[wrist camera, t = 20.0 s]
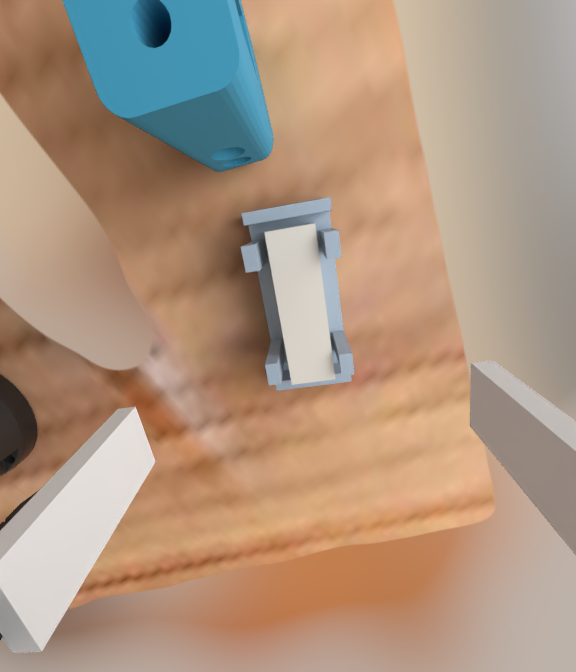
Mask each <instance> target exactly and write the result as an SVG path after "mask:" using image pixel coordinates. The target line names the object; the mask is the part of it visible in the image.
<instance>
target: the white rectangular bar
mask: <svg viewBox="0 0 576 672" xmlns="http://www.w3.org/2000/svg"><path fill="white" fill-rule="evenodd" d="M264 233H265V239H266V244H267V250H268V255H269V261H270V267H271V272H272V278H273V283H274V289H275V294H276V300H277V305H278V311H279V317H280V322H281V328H282V333H283V339H284V344H285V350H286V355H287V361H288V366H289V372H290V378H291V383H292V385H295V384H303V383H311V382H318V381H326V380H334V379H335V371H334V364H333V356H332V348H331V341H330V333H329V325H328V318H327V310H326V303H325V295H324V287H323V280H322V272H321V264H320V257H319V249H318V241H317V234H316V226H315V223H309V224H303V225H297V226H292V227H286V228H280V229H274V230H269V231H266V232H264Z"/></svg>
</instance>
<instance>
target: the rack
mask: <svg viewBox="0 0 576 672" xmlns="http://www.w3.org/2000/svg"><path fill="white" fill-rule="evenodd" d="M331 210H332V207H331V198H330V197H329V198H324V199H318V200H313V201H307V202H301V203H296V204H290V205H285V206H279V207H274V208H268V209H263V210H257V211H251V212H246V213H242V218H243V224H244V226H246V225H248V226H249V231H250V236H251V241H252V242H250V243H248V244H246V245H244V246H241V251H242V256H243V261H244V266H245V271H246V273H248V272H254V271H257V272H258V277H259V283H260V288H261V293H262V298H263V303H264V308H265V313H266V319H267V324H268V329H269V334H270V339H271V342H270V346H269V350H268V354H267V358H266V362H265V368H266V373H267V378H268V383H269V385H276V390H277V391H280V390H287V389H295V388H303V387H311V386H318V385H326V384H334V383H341V382H349V381H351V375H352V374H354V366H353V357H352V352H351V349H350V346H349V344H348V341H347V339H346V336H345V333H344V331H343V323H342V315H341V306H340V297H339V289H338V280H337V272H336V263H335V258H340V257H341V248H340V239H339V230H336V229H333V228H331V220H330V212H329V211H331ZM309 223H315V226H316V234H317V241H318V249H319V257H320V264H321V272H322V280H323V287H324V295H325V303H326V310H327V318H328V325H329V333H330V341H331V348H332V356H333V364H334V371H335V379H334V380H326V381H318V382H311V383H303V384H295V385H292V383H291V378H290V372H289V366H288V361H287V355H286V350H285V344H284V339H283V333H282V328H281V322H280V317H279V311H278V305H277V300H276V294H275V289H274V283H273V278H272V272H271V267H270V261H269V255H268V250H267V244H266V239H265V233H264V232H266V231H269V230H274V229H280V228H286V227H292V226H297V225H303V224H309Z"/></svg>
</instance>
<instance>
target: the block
mask: <svg viewBox="0 0 576 672" xmlns="http://www.w3.org/2000/svg"><path fill="white" fill-rule="evenodd" d="M63 3H64V6H65V9H66V11H67V14H68V17H69V19H70V22H71V25H72V28H73V30H74V33H75V36H76V38H77V41H78V44H79V46H80V49H81V52H82V55H83V57H84V60H85V63H86V65H87V68H88V71H89V73H90V76H91V79H92V82H93V84H94V87H95V90H96V92H97V94H98V96H99V98H100V100H101V102H102V103H103V104H104V106H105V107H106V108H107V109H108V110H109V111H111V112H112V113H113V114H115V115H117V116H118V117H120V118H122V119H124V120H126V121H127V122H129V123H131V124H133V125H134V126H136V127H138V128H140V129H141V130H143V131H145V132H147V133H149V134H150V135H152V136H154V137H156V138H157V139H159V140H161V141H163V142H164V143H166V144H168V145H170V146H171V147H173V148H175V149H177V150H179V151H180V152H182V153H184V154H186V155H187V156H189V157H191V158H193V159H194V160H196V161H198V162H200V163H202V164H203V165H205V166H207V167H209V168H210V169H212V170H214V171H218V172H221V171H226V170H229V169H232V168H236V167H239V166H243V165H246V164H250V163H253V162H257V161H260V160H263V159H265V158H267V157H268V156H269V154H270V153H271V150H272V146H273V133H272V128H271V124H270V120H269V115H268V111H267V107H266V102H265V98H264V94H263V90H262V85H261V81H260V77H259V72H258V68H257V64H256V59H255V55H254V51H253V46H252V42H251V39H250V35H249V31H248V27H247V23H246V19H245V15H244V12H243V8H242V4H241V0H63Z"/></svg>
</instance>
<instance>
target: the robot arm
mask: <svg viewBox="0 0 576 672" xmlns="http://www.w3.org/2000/svg"><path fill="white" fill-rule="evenodd" d="M470 427H471V428H472V429H473V430H474V432H475V433H476V434H477V435H478V436H479V438H480V439H481V440H482V441H483V443H484V444H485V445H486V446H487V447H488V449H489V450H490V451H491V452H492V454H493V455H494V456H495V457H496V458H497V460H498V461H499V462H500V463H501V465H502V466H503V467H504V468H505V469H506V471H507V472H508V473H509V474H510V475H511V477H512V478H513V479H514V480H515V481H516V483H517V484H518V485H519V486H520V488H521V489H522V490H523V491H524V493H525V494H526V495H527V496H528V497H529V499H530V500H531V501H532V502H533V504H534V505H535V506H536V507H537V508H538V509H539V511H540V512H541V513H542V514H543V515H544V517H545V518H546V519H547V521H548V522H549V523H550V524H551V526H552V527H553V528H554V529H555V530H556V532H557V533H558V534H559V535H560V536H561V538H562V539H563V540H564V541H565V543H566V544H567V545H568V546H569V547H570V549H571V550H572V551H573V552H574V554H575V555H576V421H575V420H573V419H572V418H571V417H569V416H568V415H567V414H565V413H564V412H563V411H561V410H560V409H558V408H557V407H556V406H554V405H553V404H552V403H550V402H549V401H547V400H546V399H545V398H543V397H542V396H541V395H539V394H538V393H537V392H535V391H534V390H532V389H531V388H530V387H528V386H527V385H526V384H524V383H523V382H522V381H520V380H519V379H518V378H516V377H515V376H513V375H512V374H511V373H509V372H508V371H507V370H505V369H504V368H503V367H501V366H500V365H498V364H497V363H496V362H494V361H493V360H490V361H482V362H475V363H471V389H470ZM36 439H37V425H36V420H35V417H34V414H33V411H32V409H31V407H30V405H29V404H28V402H27V400H26V399H25V398H24V396H23V395H22V394H21V393H20V391H19V390H18V389H17V388H16V387H15V386H14V385H13V384H11V383H10V382H9V381H8V380H7V379H5V378H4V377H3V376H1V375H0V476H2V475H4V474H6V473H7V472H9V471H10V470H12V469H13V468H14V467H15V466H17V465H18V464H19V463H20V462H21V461H22V460H24V459H25V458H26V457H27V456H28V455H29V454H30V453H31V451H32V449H33V448H34V445H35V443H36ZM154 463H155V459H154V456H153V454H152V451H151V448H150V445H149V443H148V440H147V437H146V434H145V432H144V429H143V426H142V423H141V421H140V418H139V415H138V412H137V409H136V407H130V408H122V409H117V410H116V411H115V412H114V413H113V414H112V416H111V417H110V418H109V419H108V420H107V421H106V422H105V423H104V424H103V425H102V426H101V427H100V428H99V429H98V430H97V431H96V432H95V433H94V434H93V435H92V436H91V437H90V438H89V439H88V440H87V441H86V442H85V443H84V445H83V446H82V447H81V448H80V449H79V450H78V451H77V452H76V453H75V454H74V455H73V456H72V457H71V458H70V459H69V460H68V461H67V462H66V463H65V464H64V465H63V466H62V467H61V468H60V469H59V470H58V471H57V472H56V474H55V475H54V476H53V477H52V478H51V479H50V480H49V481H48V482H47V483H46V484H45V485H44V486H43V487H42V488H41V489H40V490H39V491H37V492H36V493H35V494H33V495H32V496H30V497H29V498H28V499H26V500H25V501H24V502H22V503H21V504H20V505H19V506H18V507H17V508H16V509H15V510H14V511H13V512H12V513H11V514H10V515H9V516H8V517H7V518H6V520H5V522H2V523H1V524H0V640H1V638H3V640H4V641H5V643H6V644H7V645H8V647H9V648H10V650H11V651H12V653H24V652H41V651H42V650H43V648H44V647H45V645H46V644H47V642H48V640H49V639H50V637H51V635H52V634H53V632H54V630H55V629H56V627H57V625H58V624H59V621H60V620H61V619H62V617H63V615H64V613H65V612H66V610H67V609H68V607H69V605H70V604H71V602H72V600H73V599H74V597H75V595H76V594H77V592H78V590H79V589H80V587H81V585H82V584H83V582H84V580H85V579H86V577H87V575H88V574H89V572H90V570H91V569H92V567H93V565H94V564H95V562H96V560H97V559H98V557H99V555H100V554H101V552H102V550H103V549H104V547H105V545H106V544H107V542H108V540H109V539H110V537H111V535H112V534H113V532H114V530H115V529H116V527H117V525H118V523H119V522H120V520H121V518H122V517H123V515H124V513H125V512H126V510H127V508H128V507H129V505H130V503H131V502H132V500H133V498H134V497H135V495H136V493H137V492H138V490H139V488H140V487H141V485H142V483H143V482H144V480H145V478H146V477H147V475H148V473H149V472H150V470H151V468H152V467H153V465H154Z"/></svg>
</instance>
